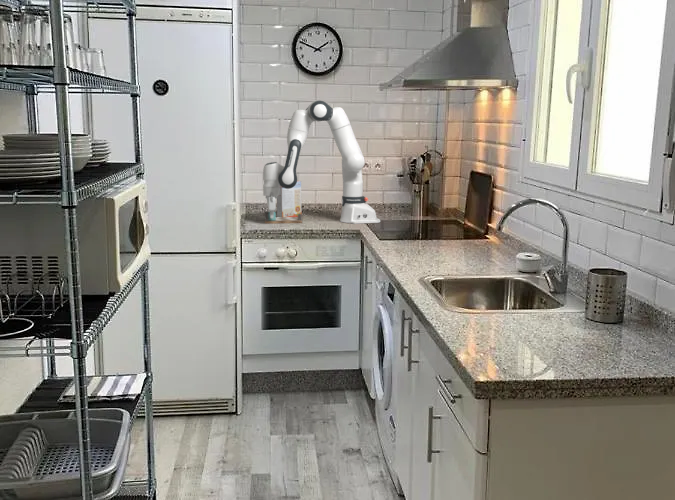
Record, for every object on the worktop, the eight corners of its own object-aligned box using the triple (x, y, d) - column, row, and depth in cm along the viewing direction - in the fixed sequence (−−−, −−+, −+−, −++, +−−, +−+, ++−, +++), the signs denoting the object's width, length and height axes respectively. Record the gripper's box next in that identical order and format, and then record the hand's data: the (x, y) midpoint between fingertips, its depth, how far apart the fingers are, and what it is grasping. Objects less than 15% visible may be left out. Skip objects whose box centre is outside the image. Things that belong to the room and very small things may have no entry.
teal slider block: (275, 219, 388) (275, 211, 387) (275, 220, 383) (275, 212, 382) (268, 219, 387) (267, 211, 386) (268, 220, 383) (268, 212, 382)
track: (300, 220, 392) (300, 210, 391) (301, 223, 383) (301, 212, 382) (264, 221, 390) (264, 211, 389) (265, 223, 380) (265, 213, 379)
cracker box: (295, 215, 412) (295, 180, 408) (302, 216, 407) (301, 180, 404) (276, 217, 403) (275, 181, 399) (282, 218, 399) (281, 182, 395)
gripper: (278, 194, 373) (278, 219, 375) (276, 190, 392) (276, 214, 395) (266, 194, 372) (266, 220, 374) (265, 190, 392) (265, 214, 394)
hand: (271, 217), depth 385 cm, fingers closed on teal slider block, 5 cm apart
